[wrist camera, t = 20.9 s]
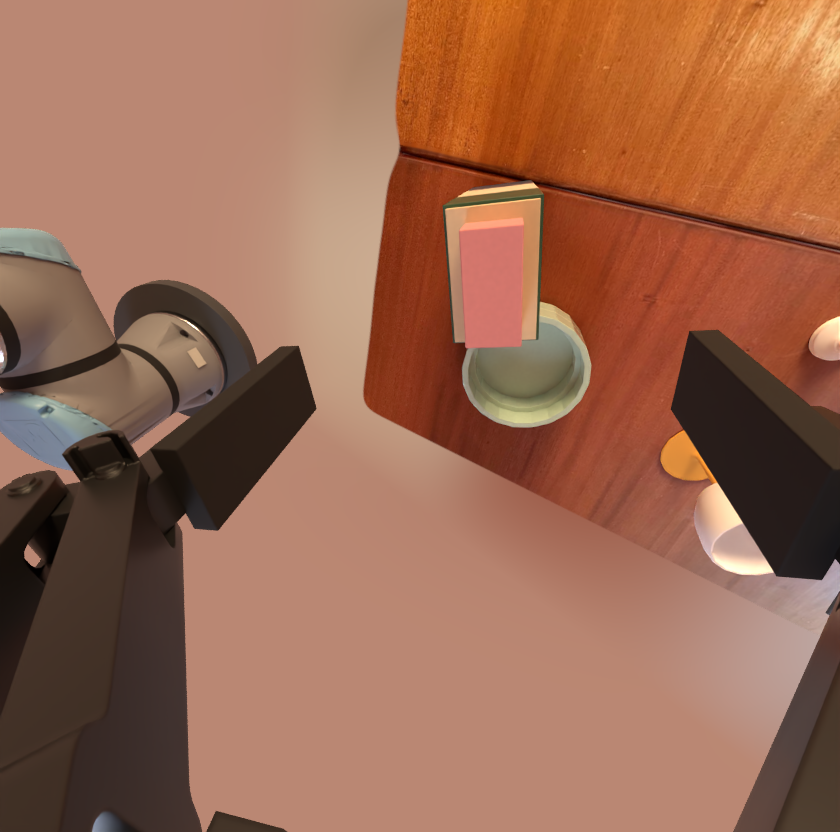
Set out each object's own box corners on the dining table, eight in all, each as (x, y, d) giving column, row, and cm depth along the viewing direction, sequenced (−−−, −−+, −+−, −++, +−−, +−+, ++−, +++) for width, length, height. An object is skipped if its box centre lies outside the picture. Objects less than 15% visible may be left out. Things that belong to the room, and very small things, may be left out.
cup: (644, 462, 56) (685, 554, 43) (694, 414, 51) (757, 502, 38) (700, 489, 57) (757, 589, 44) (754, 444, 52) (837, 542, 39)
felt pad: (455, 340, 29) (454, 342, 29) (446, 208, 25) (444, 209, 24) (535, 337, 28) (535, 339, 28) (540, 197, 24) (540, 198, 23)
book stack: (476, 274, 48) (453, 343, 29) (473, 187, 43) (442, 205, 25) (529, 270, 46) (538, 340, 28) (531, 180, 42) (544, 193, 23)
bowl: (470, 403, 57) (465, 426, 52) (464, 302, 50) (458, 318, 45) (577, 403, 54) (584, 428, 49) (588, 295, 46) (597, 311, 41)
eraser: (464, 223, 25) (458, 230, 22) (523, 217, 24) (524, 223, 21) (469, 332, 28) (465, 348, 26) (521, 330, 27) (521, 347, 25)
